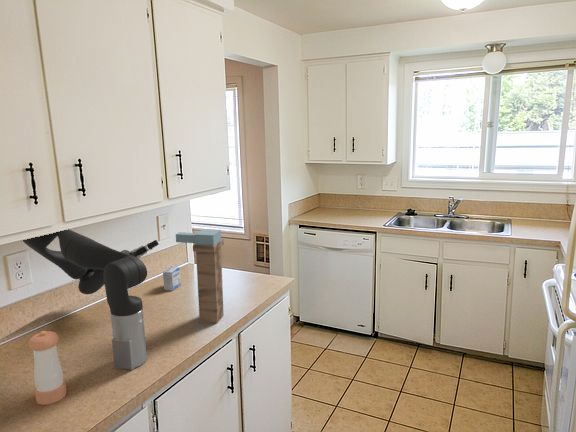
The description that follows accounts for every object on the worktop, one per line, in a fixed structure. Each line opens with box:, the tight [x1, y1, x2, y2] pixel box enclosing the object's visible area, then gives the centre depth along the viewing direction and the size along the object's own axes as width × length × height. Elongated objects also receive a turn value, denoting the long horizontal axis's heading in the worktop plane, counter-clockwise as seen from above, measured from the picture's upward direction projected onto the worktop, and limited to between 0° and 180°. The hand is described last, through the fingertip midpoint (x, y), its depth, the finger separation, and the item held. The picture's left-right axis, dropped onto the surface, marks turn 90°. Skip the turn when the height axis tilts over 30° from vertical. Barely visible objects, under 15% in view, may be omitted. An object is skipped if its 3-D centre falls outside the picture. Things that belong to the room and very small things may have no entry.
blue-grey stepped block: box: [175, 228, 222, 246], centre depth 155 cm, size 8×16×4 cm, turn 79°
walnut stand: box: [192, 239, 225, 324], centre depth 158 cm, size 10×8×30 cm
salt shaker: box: [28, 330, 67, 406], centre depth 113 cm, size 7×7×19 cm
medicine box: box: [162, 266, 182, 292], centre depth 192 cm, size 8×4×9 cm, turn 168°
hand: (151, 245), depth 160 cm, fingers open, 8 cm apart
